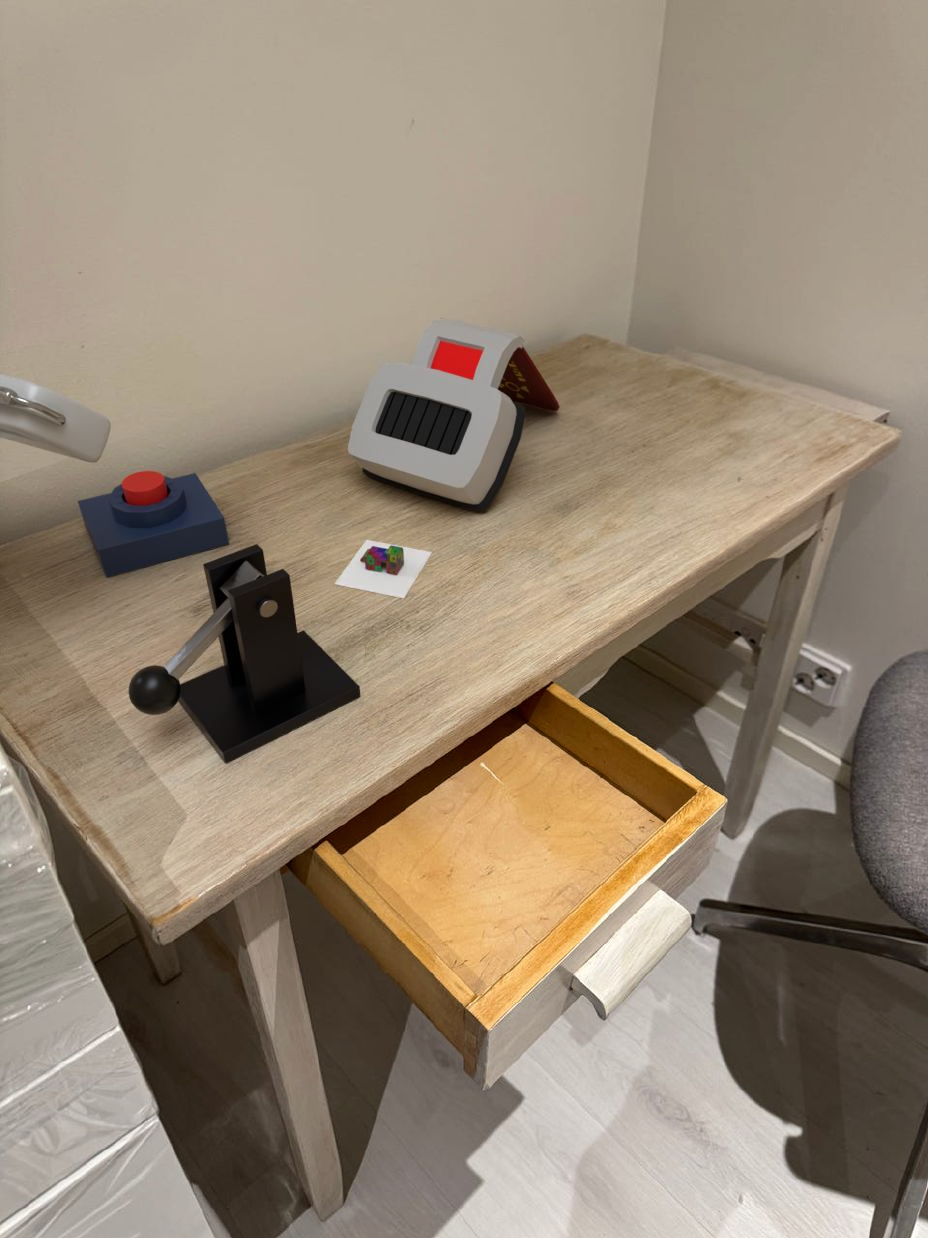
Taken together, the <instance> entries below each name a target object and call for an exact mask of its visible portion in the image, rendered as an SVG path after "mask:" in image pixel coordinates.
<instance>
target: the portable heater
mask: <svg viewBox="0 0 928 1238" xmlns="http://www.w3.org/2000/svg"><path fill="white" fill-rule="evenodd" d="M525 342H526V341H525V339H524V338H523V337H522V336H521V335H520V334H516V333H512V332H509V331H506V330H502V329H498V328H494V327H489V326H484V325H480V324H475V323H471V322H466V321H462V320H458V319H451V318H444V317H440V318H439V319H436V320H434V321H432V322H431V324H429V326H428V327H427V328H426V329H425V330H424V331H423V332H422V334H421V337H420V339H419V341H418V344H417V346H416V349H415V352H414V354H413V358H412V360H411V363H406V362H401V361H385V362H383V363H382V364H381V365H380V366H379V367H378V369H377V370H376V372H375V374H374V376H373V377H372V379H371V380H370V382H369V384H368V385H367V388H366V391H365V393H364V395H363V399H362V401H361V403H360V406H359V409H358V411H357V413H356V416H355V418H354V421H353V423H352V426H351V430H350V435H349V440H348V445H347V452H348V453H349V455H350V456H351V457H352V459H353V460H354V461H355V463H356V464H357V465H358V466H360V467H361V468H362V474H364V475H365V476H366V477H368V478H370V479H373V480H375V481H377V482H380V483H382V484H385V485H389V486H392V487H394V488H397V489H401V490H404V491H407V492H409V493H411V494H414V495H415V494H416V495H418V496H422V497H425V498H429V499H430V500H431V499H432V500H435V501H438V502H442V503H445V504H448V505H452V506H455V507H458V508H461V509H465V510H470V511H475V512H486V511H487V510H488V509H489V508H490V507H491V505H492V503H493V502H494V500H495V499H496V497H497V495H498V494H499V492H500V491H501V488H502V487H503V484H504V483H505V480H506V478H507V475H508V472H509V470H510V467H511V465H512V462H513V459H514V457H515V454H516V452H517V450H518V447H519V444H520V441H521V439H522V434H523V429H524V424H525V418H526V407H525V406H524V405H526V406H530V407H534V408H538V409H542V410H545V411H549V412H558V411H559V410H560V408H561V406H560V405H559V404H560V403H559V402H558V400H557V398H556V396H555V395H554V393H553V391H552V389H551V388H550V387H549V385H548V383H547V382H546V381H545V379H544V377H543V375H542V374H541V372H540V371H539V369H538V367H537V366H536V364H535V363H534V361H533V360H532V358H531V357H530V355H529V354H528V352H527V350H526V348H525V347H524V344H525Z"/></svg>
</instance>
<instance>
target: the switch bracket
mask: <svg viewBox="0 0 928 1238" xmlns="http://www.w3.org/2000/svg"><path fill="white" fill-rule="evenodd" d="M245 561H247V562H249V563H250V564H251V565H252V566H253V567H255V568H256V569H257V570H258V571H259V572H261V573H262V574H263V575H264V576H263V577H260V578H258V579H255V580H253V581H250V582H248V583H245V584H243V585H240V586H238V587H235V588H233V589H230V590H228V594H229V599H230V604H231V609H232V614H233V619H234V620H233V621H232V622H231V623H230V625H229V626H228V627H227V628H226V629H225V630H224V631H223V632H222V633H221V634H220V635H219V636H218V637H217V638H218V642H219V646H220V651H221V655H222V656H221V657H222V660H223V665H220V666H219V667H217V668H214V669H211V670H210V671H207V672H205V673H203V674H200V675H198V676H195V677H194V678H191V679H188V680H186V681H185V682H182V683H180V686H181V694H180V697H179V700H178V702H179V704H180V705H181V707H182V708H183V709H184V711H185V712H186V714H188V717H190V719H191V720H192V721H193V722H194V724H195V725H196V726H197V728H198V729H199V731H200V732H201V733H202V735H203V736H204V737H205V738H206V740H207V741H208V743H209V744H210V745H211V747H212V748H213V749H214V750H215V752H216V753H217V755H218V756H219V757H220V758H221V759H222V761H223V763H224V764H228V763H230V762H232V761H234V760H236V759H238V758H240V757H242V756H244V755H246V754H248V753H250V752H252V751H254V750H256V749H258V748H260V747H263V746H264V745H266V744H268V743H271V742H272V741H274V740H276V739H279V738H280V737H283V736H284V735H286V734H288V733H291V732H292V731H294V730H297V729H298V728H300V727H302V726H305V725H306V724H308V723H310V722H312V721H315V720H316V719H319V718H320V717H322V716H324V715H327V714H328V713H331V712H332V711H335V710H336V709H339V708H340V707H342V706H345V705H347V704H349V703H351V702H353V701H354V700H357V699H359V698H360V697H361V687H360V685H359V684H358V683H357V682H356V681H355V680H354V679H353V678H352V677H351V676H350V675H349V674H348V673H347V672H346V671H345V670H344V669H343V668H342V666H340V665H339V664H338V663H337V661H335V659H333V658H332V657H331V656H330V655H329V654H328V653H327V651H325V650H324V649H323V648H322V647H321V646H320V645H319V644H318V643H317V641H315V640H314V639H313V638H312V637H311V636H310V635H309V634H308V633H307V632H306V631H305V629H304V630H301V631H298V625H297V619H296V612H295V604H294V596H293V590H292V583H291V576H290V573H289V572H288V571H286V570H285V569H284V568H281V569H279V570H276V571H273V572H271V573H269V574H268V572H267V567H266V566H267V565H266V561H265V554H264V549H263V548H262V547H261V546H260V545H259V544H257V543H256V544H253V545H251V546H248V547H244V548H242V549H240V550H237V551H234V552H232V553H229V554H226V555H224V556H220V557H218V558H215V559H212V560H210V561H207V562H205V563H203V571H204V575H205V581H206V585H207V589H208V594H209V599H210V604H211V608H212V609H211V610H212V614H213V613H214V612H215V611H216V610H217V609H218V608H219V607H220V606H221V605H222V604H223V603H224V602H225V600H226V599H227V598H228V597H227V596H226V594H225V593H224V592H223V591H222V590H221V589H220V587H221V586H222V585H223V584H224V583H225V582H226V581H227V580H228V579H229V578H230V577H231V576H232V575H233V574H234V573H235V571H236V570H237V569H238V568H239V567H240V566H241V565H242V564H243V563H244V562H245Z"/></svg>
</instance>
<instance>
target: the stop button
mask: <svg viewBox="0 0 928 1238" xmlns="http://www.w3.org/2000/svg"><path fill="white" fill-rule="evenodd" d="M164 476H165V475H163V474H162V473H161V472H159V471H156V470H155V471H154V470H141V471H137V472H134V473H133V472H132V473H131V474H129V475H127V476H126V477H124V478H123V480H122V481H121V484H122V488H123V492H124V495H125V499H126V502H127V503H128V504H130V505H133V506H147V505H151V504H155V503H158V502H160V501H162V500H163V499H165V498H166V497H167V495H168V492H167V487H166V483H165V478H164Z"/></svg>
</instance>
